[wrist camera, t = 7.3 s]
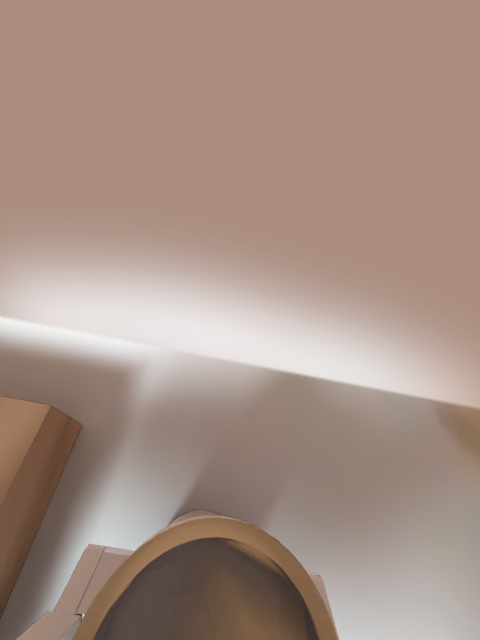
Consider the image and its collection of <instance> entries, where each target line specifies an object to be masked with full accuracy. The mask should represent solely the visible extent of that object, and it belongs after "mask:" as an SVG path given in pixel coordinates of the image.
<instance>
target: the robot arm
mask: <svg viewBox="0 0 480 640" xmlns="http://www.w3.org/2000/svg"><path fill="white" fill-rule="evenodd" d="M133 552H134V551H132V550H126V549H119V548H113V547H107V546H101V545H93V544H89V545H88V547H87V548H86V549H85V550H84V552H83V554H82V556H81V558H80V560H79V562H78V564H77V566H76V568H75V570H74V572H73V574H72V576H71V578H70V580H69V582H68V584H67V586H66V588H65V590H64V591H63V593H62V595H61V597H60V599H59V601H58V603H57V605H56V607H55V609H54V611H53V612H49V611H47V612H46V613H45V614H44V615H43V616H42V617H40V618H39V619H38V620H37V621H36V622H35V623H34V624H33V625H31V626H30V627H29V628H28V629H27V630H26V631H25V632H24V633H22V634H21V635H20V636H19V637H18V638H17V639H16V640H72V639H73V637H74V635H75V633H76V631H77V629H78V627H79V625H80V623H81V621H82V619H83V617H84V615H85V614H86V612H87V610H88V609H89V607H90V605H91V604H92V602H93V600H94V599H95V597H96V596H97V594H98V593H99V592H100V590H101V589H102V588H103V586H104V585H105V583H106V582H107V581H108V579H109V578H110V577H111V576H112V574H113V573H114V572H115V571H116V570H117V569H118V568H119V567H120V566H121V565H122V564H123V562H124V561H125V560H126V559H127V558H128V557H129V556H130V555H131V554H132V553H133ZM308 575H309V576H310V578H311V579H312V581H313V582H314V584H315V586H316V588H317V590H318V592H319V594H320V595H321V597H322V599H323V601H324V604H325V606H326V608H327V611H328V613H329V616H330V618H331V620H332V623H333V626H334V630H335V633H336V636H337V639H338V640H339V638H338V634H337V630H336V627H335V623H334V619H333V616H332V612H331V608H330V605H329V601H328V597H327V594H326V590H325V587H324V583H323V580H322V578H321V576H320V575H315V574H308Z"/></svg>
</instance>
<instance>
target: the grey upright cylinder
mask: <svg viewBox="0 0 480 640" xmlns="http://www.w3.org/2000/svg"><path fill="white" fill-rule="evenodd" d="M72 640H338V639H337V636H336V633H335V630H334V626H333V623H332V620H331V618H330V616H329V613H328V611H327V608H326V606H325V604H324V601H323V599H322V597H321V595H320V594H319V592H318V590H317V588H316V586H315V584H314V582H313V581H312V579H311V578H310V576H309V575H308V573H307V572H306V571H305V569H304V568H303V566H302V565H301V564H300V563H299V561H298V560H297V559H296V558H295V557H294V556H293V555H292V553H291V552H290V551H289V550H288V549H287V548H285V547H284V546H283V545H282V544H281V543H280V542H279V541H278V540H276V539H275V538H273V537H272V536H270V535H269V534H267V533H266V532H264V531H263V530H261V529H259V528H257V527H255V526H253V525H251V524H249V523H247V522H244V521H242V520H238V519H235V518H232V517H226V516H219V515H217V514H215V513H213V512H210V511H206V510H194V511H190V512H187V513H185V514H183V515H181V516H179V517H178V518H176V519H175V520H174V521H173V522H171V523H170V524H169V525H168V527H167V528H165V529H163V530H161V531H159V532H158V533H157V534H155V535H154V536H152V537H151V538H149V539H148V540H147V541H145V542H144V543H143V544H142V545H141V546H140V547H139V548H137V549H136V550H135V551H134V552H133V553H132V554H131V555H130V556H129V557H128V558H127V559H126V560H125V561H124V562H123V564H122V565H121V566H120V567H119V568H118V569H117V570H116V571H115V572H114V573H113V574H112V576H111V577H110V578H109V579H108V581H107V582H106V583H105V585H104V586H103V588H102V589H101V590H100V592H99V593H98V594H97V596H96V597H95V599H94V600H93V602H92V604H91V605H90V607H89V609H88V610H87V612H86V614H85V615H84V617H83V619H82V621H81V623H80V625H79V627H78V629H77V631H76V633H75V635H74V637H73V639H72Z"/></svg>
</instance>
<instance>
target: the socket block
mask: <svg viewBox="0 0 480 640" xmlns="http://www.w3.org/2000/svg"><path fill="white" fill-rule="evenodd" d="M81 427H82V424H80V423H78V422H77V421H75V420H74V419H72V418H70V417H69V416H67V415H66V414H64V413H62V412H61V411H59V410H58V409H56V408H54V407H53V406H51V405H47V404H41V403H35V402H30V401H24V400H19V399H13V398H8V397H2V396H0V617H1V615H2V613H3V610H4V608H5V606H6V603H7V601H8V599H9V596H10V594H11V592H12V589H13V587H14V584H15V582H16V580H17V577H18V575H19V573H20V570H21V568H22V566H23V563H24V561H25V559H26V556H27V554H28V552H29V549H30V547H31V544H32V542H33V540H34V537H35V535H36V533H37V530H38V528H39V526H40V523H41V521H42V519H43V516H44V514H45V512H46V509H47V507H48V504H49V502H50V500H51V497H52V495H53V493H54V490H55V488H56V486H57V483H58V481H59V479H60V476H61V474H62V472H63V469H64V467H65V464H66V462H67V460H68V457H69V455H70V453H71V450H72V448H73V446H74V443H75V441H76V439H77V436H78V434H79V432H80V429H81Z"/></svg>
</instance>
